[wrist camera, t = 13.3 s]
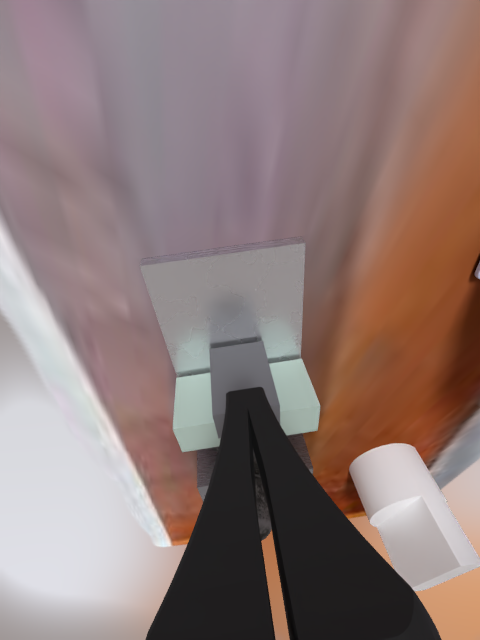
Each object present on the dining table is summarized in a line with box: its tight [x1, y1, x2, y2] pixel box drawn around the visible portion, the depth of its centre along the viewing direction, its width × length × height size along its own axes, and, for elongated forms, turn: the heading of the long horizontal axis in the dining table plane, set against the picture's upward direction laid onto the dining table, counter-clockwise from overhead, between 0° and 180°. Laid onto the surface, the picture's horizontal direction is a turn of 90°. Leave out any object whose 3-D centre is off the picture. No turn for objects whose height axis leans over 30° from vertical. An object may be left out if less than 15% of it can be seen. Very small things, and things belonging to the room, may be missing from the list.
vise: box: [140, 237, 313, 502], centre depth 23 cm, size 10×22×6 cm, turn 6°
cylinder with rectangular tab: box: [349, 444, 480, 591], centre depth 35 cm, size 9×9×12 cm
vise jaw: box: [173, 341, 320, 452], centre depth 21 cm, size 10×6×6 cm, turn 96°
